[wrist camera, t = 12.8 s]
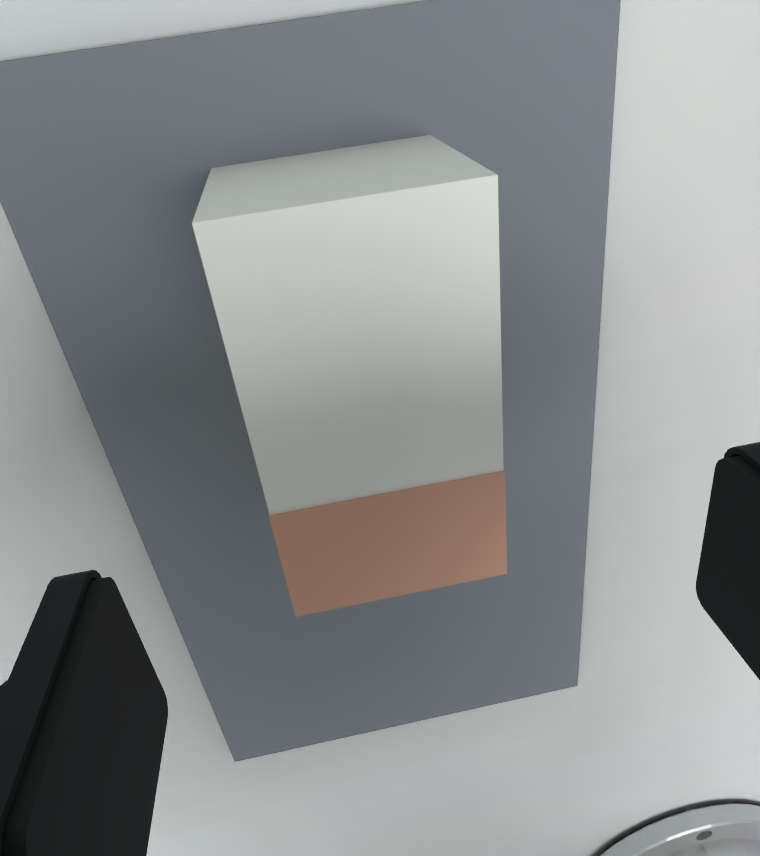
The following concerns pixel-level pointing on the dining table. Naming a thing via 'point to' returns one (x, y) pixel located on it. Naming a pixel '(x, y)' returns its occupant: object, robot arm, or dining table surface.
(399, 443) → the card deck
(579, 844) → the dining table surface
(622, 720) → the dining table surface
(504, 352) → the mat
